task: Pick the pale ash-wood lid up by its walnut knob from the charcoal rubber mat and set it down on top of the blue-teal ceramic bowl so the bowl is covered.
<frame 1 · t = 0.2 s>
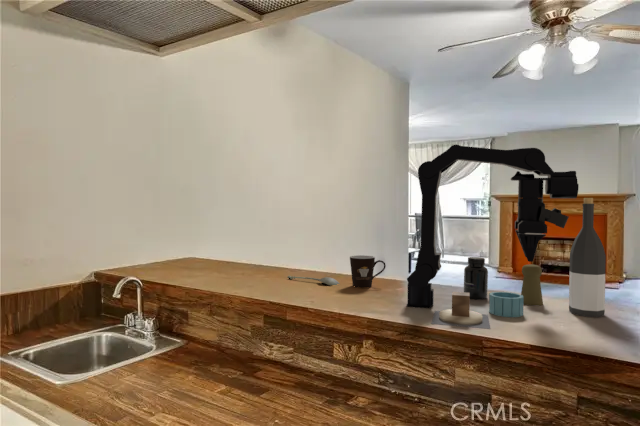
hand: (529, 259, 113), 14 cm above the countertop, tool pointing down, fingers open, 9 cm apart
supplement bottle: (475, 297, 134), on the countertop
wine bottle: (586, 314, 115), on the countertop
soupspoon: (312, 283, 159), on the countertop
wooden lid: (460, 319, 108), resting on rubber mat
ceramic bowl: (505, 314, 114), on the countertop
cork: (531, 303, 126), on the countertop
coffee mug: (366, 286, 151), on the countertop
rubber mat: (460, 320, 108), on the countertop
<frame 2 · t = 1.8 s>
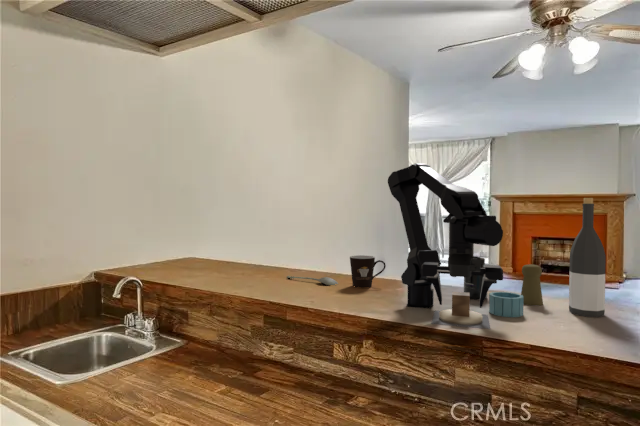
hand: (460, 306, 108), 4 cm above the countertop, tool pointing down, fingers open, 9 cm apart
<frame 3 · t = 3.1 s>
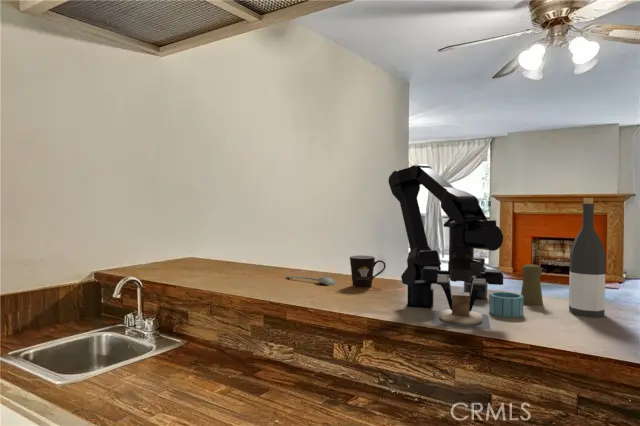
hand: (460, 310, 108), 3 cm above the countertop, tool pointing down, fingers closed on wooden lid, 4 cm apart
wooden lid: (460, 319, 108), resting on rubber mat, touching gripper
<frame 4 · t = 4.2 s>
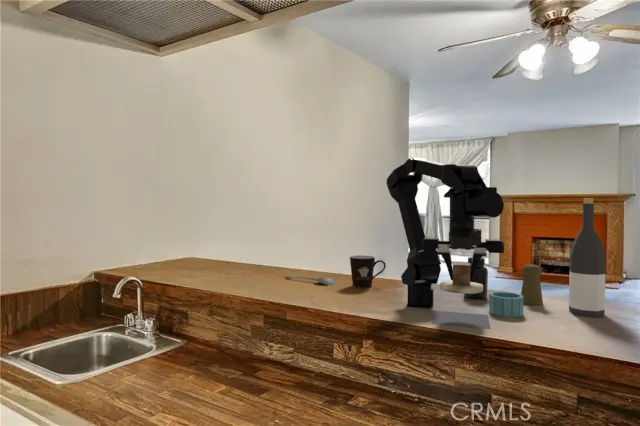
hand: (461, 280, 107), 10 cm above the countertop, tool pointing down, fingers closed on wooden lid, 4 cm apart
wooden lid: (461, 289, 107), point 8 cm above the countertop, touching gripper
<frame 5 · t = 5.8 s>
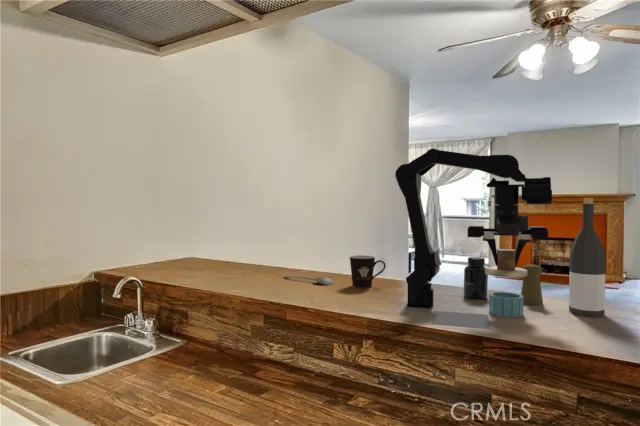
hand: (505, 265, 113), 13 cm above the countertop, tool pointing down, fingers closed on wooden lid, 4 cm apart
wooden lid: (505, 274, 113), point 10 cm above the countertop, touching gripper
when the fingers open (9 cm above the countertop, at t = 7.0 s): wooden lid drops 2 cm, resting on ceramic bowl.
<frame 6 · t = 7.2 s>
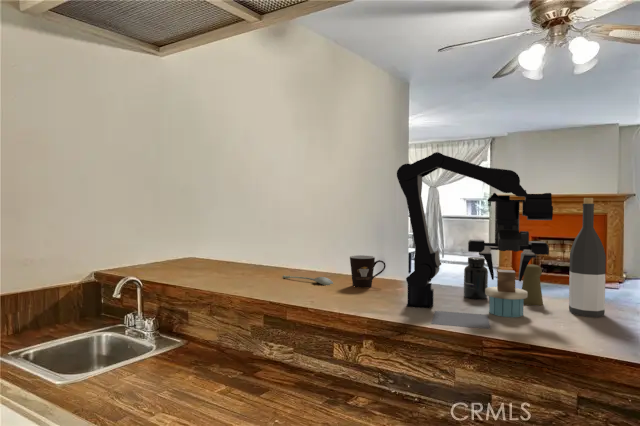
hand: (506, 280, 113), 9 cm above the countertop, tool pointing down, fingers open, 6 cm apart
wooden lid: (505, 295, 113), point 5 cm above the countertop, touching ceramic bowl
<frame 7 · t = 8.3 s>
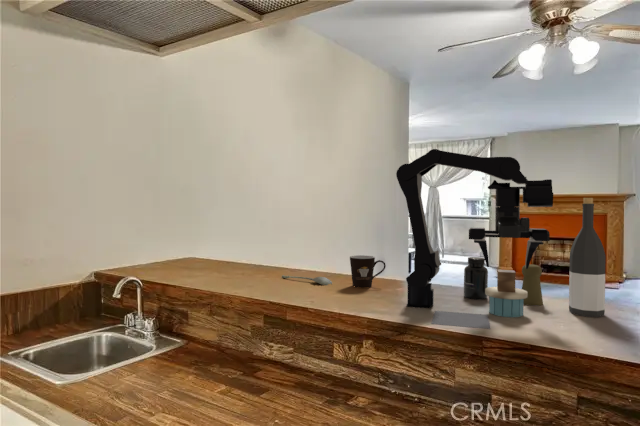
hand: (506, 267, 113), 12 cm above the countertop, tool pointing down, fingers open, 9 cm apart
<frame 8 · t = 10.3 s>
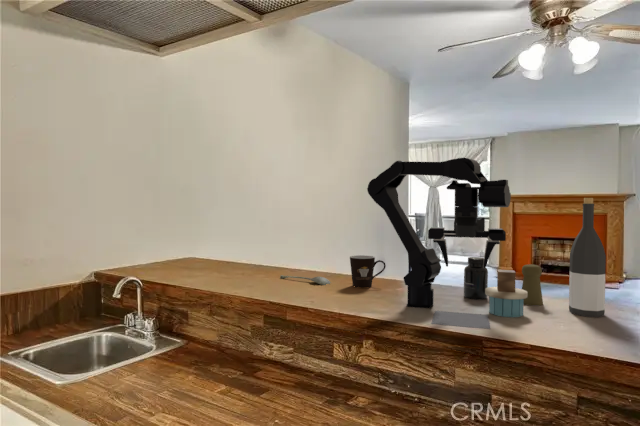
hand: (465, 267, 115), 12 cm above the countertop, tool pointing down, fingers open, 9 cm apart
at the end: wooden lid 0.1 cm off-centre on the ceramic bowl, point 5.0 cm above the ceramic bowl's base; wooden lid tilted 0°; the gripper is holding nothing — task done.
